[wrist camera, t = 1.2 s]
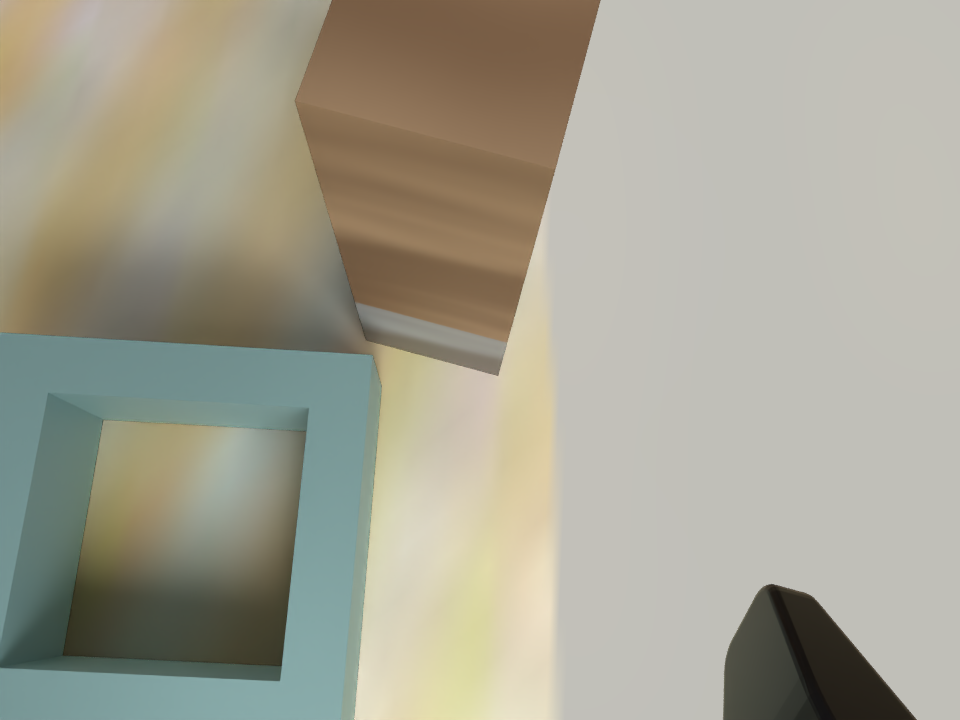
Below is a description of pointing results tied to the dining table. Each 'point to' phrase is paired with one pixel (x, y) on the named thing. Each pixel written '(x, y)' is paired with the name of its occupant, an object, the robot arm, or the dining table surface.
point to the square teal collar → (65, 497)
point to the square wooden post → (441, 158)
